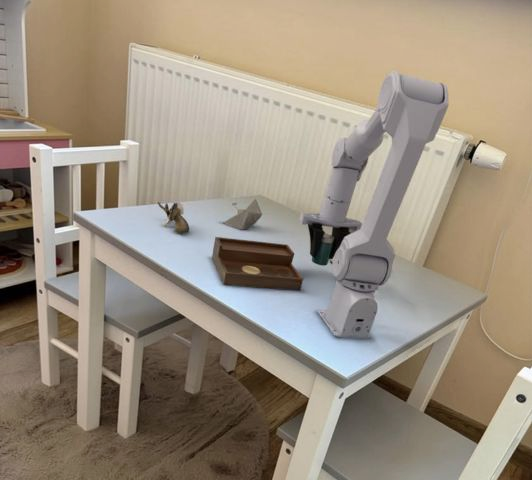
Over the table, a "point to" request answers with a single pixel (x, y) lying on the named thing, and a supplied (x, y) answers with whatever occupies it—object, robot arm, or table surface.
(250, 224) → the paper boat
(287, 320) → the table surface
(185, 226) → the eagle figurine
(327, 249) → the cylinder
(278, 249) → the spice shelf
